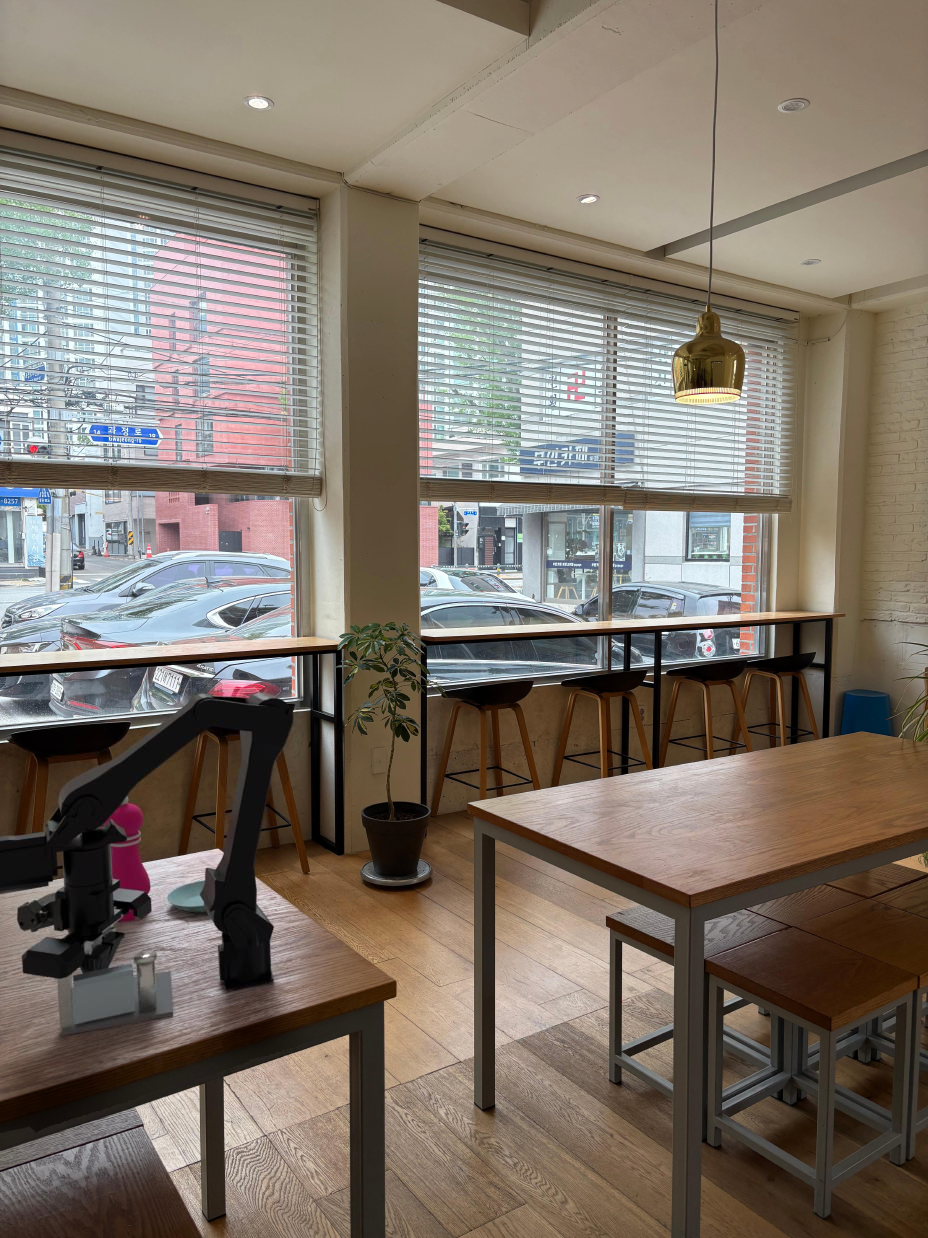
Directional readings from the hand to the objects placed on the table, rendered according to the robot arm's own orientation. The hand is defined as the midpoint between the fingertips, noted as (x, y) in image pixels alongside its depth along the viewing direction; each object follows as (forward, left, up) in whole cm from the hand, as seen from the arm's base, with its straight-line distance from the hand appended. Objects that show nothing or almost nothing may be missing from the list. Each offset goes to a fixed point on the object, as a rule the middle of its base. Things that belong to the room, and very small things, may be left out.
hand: (94, 992), depth 116 cm
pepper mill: (-4, -31, -3) cm, 32 cm away
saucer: (-16, -31, -3) cm, 35 cm away
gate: (-1, +4, -1) cm, 5 cm away
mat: (-3, 0, -2) cm, 4 cm away
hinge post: (-7, +4, -2) cm, 8 cm away
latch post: (+3, +4, -2) cm, 5 cm away
